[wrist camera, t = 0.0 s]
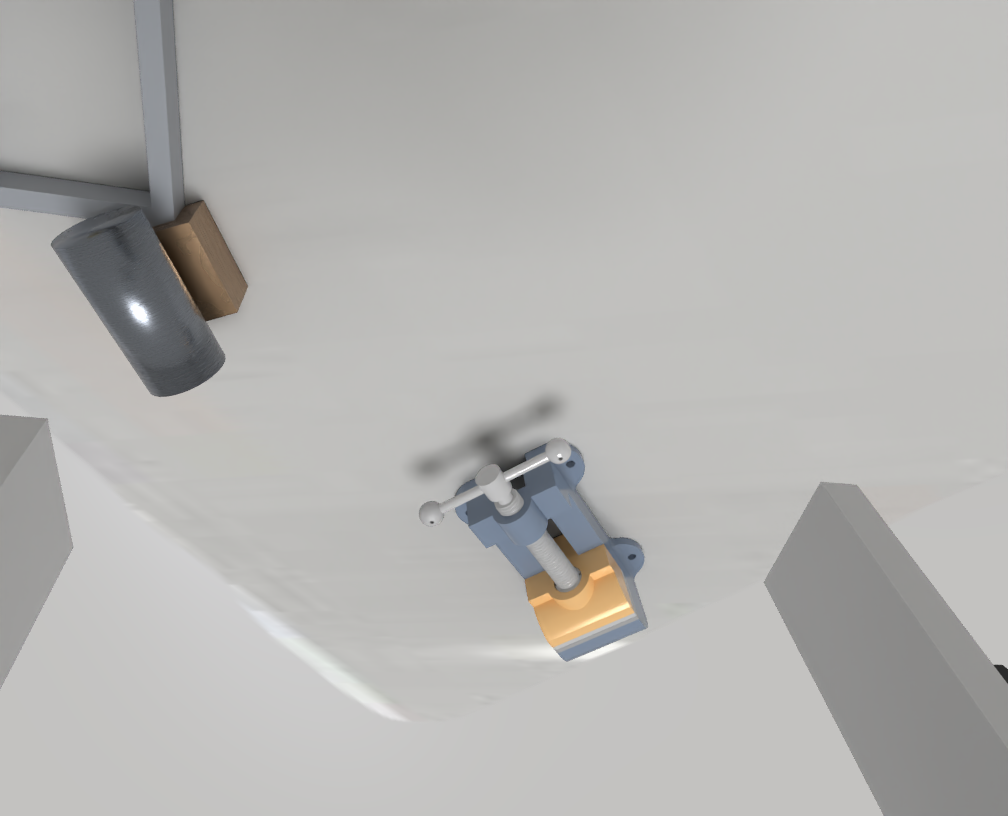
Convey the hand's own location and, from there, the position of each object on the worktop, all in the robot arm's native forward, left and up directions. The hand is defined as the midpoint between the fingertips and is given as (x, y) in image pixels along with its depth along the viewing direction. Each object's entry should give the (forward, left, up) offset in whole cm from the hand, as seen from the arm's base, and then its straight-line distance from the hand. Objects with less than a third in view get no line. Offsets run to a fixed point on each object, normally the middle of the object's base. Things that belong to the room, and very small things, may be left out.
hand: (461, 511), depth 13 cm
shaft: (+9, -12, -28) cm, 32 cm away
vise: (+26, +12, -28) cm, 40 cm away
